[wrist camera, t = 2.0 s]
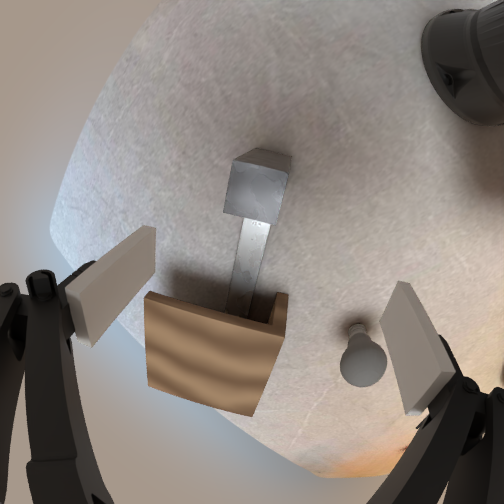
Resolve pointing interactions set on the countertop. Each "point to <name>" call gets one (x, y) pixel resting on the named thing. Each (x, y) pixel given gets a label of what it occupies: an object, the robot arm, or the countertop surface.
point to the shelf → (211, 352)
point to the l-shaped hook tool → (253, 217)
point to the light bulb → (362, 359)
